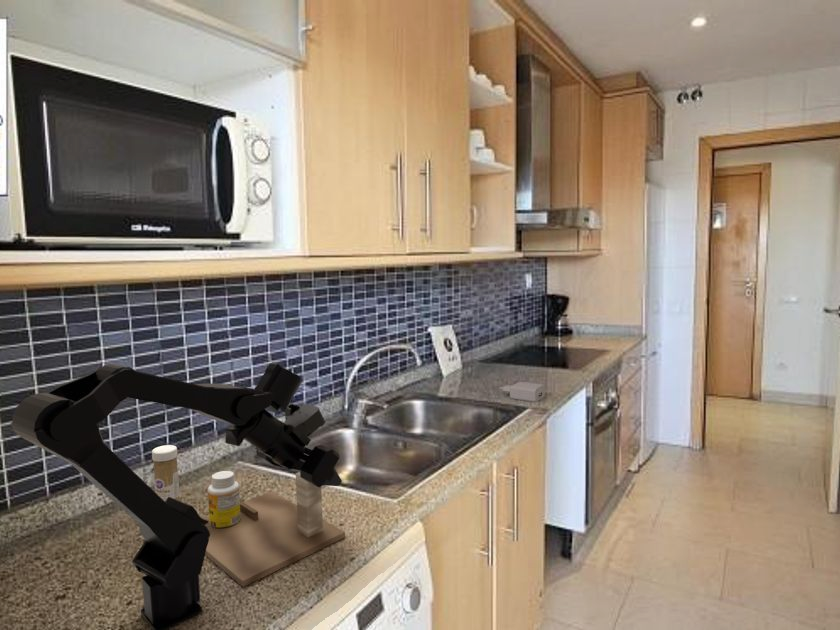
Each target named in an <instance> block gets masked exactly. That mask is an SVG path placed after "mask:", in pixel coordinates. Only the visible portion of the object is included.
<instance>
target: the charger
mask: <svg viewBox="0 0 840 630" xmlns="http://www.w3.org/2000/svg"><path fill="white" fill-rule="evenodd" d="M498 389H500V390H502V392H503V393H506V394H509V397H510V398H511V400H517V401H525V402H533V403H537V402H538V401H540V400H542V399H543V398H544V397H545V395H546V393H545V391H546V386H545V384H543V383H535V382H534V383H533V382H527V381H526V382H525V381H518V382H516V383H514V384H512V385H509V384H507V385H504V386H500V387H498Z"/></svg>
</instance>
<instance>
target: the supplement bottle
mask: <svg viewBox="0 0 840 630" xmlns="http://www.w3.org/2000/svg"><path fill="white" fill-rule="evenodd" d="M240 497H241V496H240V485H239V483H238V481H236V480H235V473H234V472H233V471H231V470H223V471H218V472H214V473H213V474H212V475H211V484H210V485H209V486H208V487H207V501H208V503H207V504H208V515H209V520H210V526H211V527H213V528H216V529H224V528H229V527H232V526H234V525H236V524H237V523H239V522H240V520H241V517H240V500H241V499H240Z"/></svg>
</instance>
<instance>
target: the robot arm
mask: <svg viewBox="0 0 840 630" xmlns="http://www.w3.org/2000/svg"><path fill="white" fill-rule="evenodd" d="M302 383H303V380H302V378H301V377H300V376H299V375H298V374H297V373H294V372H292V371H291V370H288V368H284V367H283V366H281V365H280V364H279V363H274V362H273V363H272V362H270V363H269V364H268V365H267V367H266V368H265V371H264V373H263V374H262V376H261V378H260V379H259V381H258V383H257V384H256V386H255V387H254V388H250V387H246V386H245V387H242V386H241V387H240V386H236V385H231V384H224V383H190V382H187V381H181V380H177V379H173V378H169V377H164V376H160V375H157V374H151V373H148V372H142V371H138V370H136V369H134V368H132V367H130V366H124V365H119V364H115V363H113V364H112V363H108V364H105V365H102V366H101V367H99V368H97V369H95V370H93V371H92V372H90V373H88V374H87V375H83V376H81V377H78V378H76V379H73V380H71V381H68V382H66V383H63V384H60V385H58V386H56V387H54V388H53V389H51V390H49V391H47V392H42V393H41V392H40V393H35V394H33V395H30V396H28V397H26V398H24V399H23V400H21V401H20V403H19V404H18V405H17V406H16V407H15V409H14V412H13V413H12V419H11V423H10V425H11V428H12V430H13V431H14V432H15V433H16V435H17V436H19V437H20V438H21V439H24V440H25V441H28V442H30V443H32V444H33V445H35V446H37V447H39V448H40V449H42V450H43V451H45V452H48V453H50V454H52V455H53V456H55V457H57V458H60V459H62V460H63V461H66V462H67V463H69V464H70V465H71V466H72V467H74V468H75V469H76V470H77V471H78V472H79V473H80V474H81V475H83V477H85V478H86V479H87V480H89V481H90V482H91V484H93V485H94V486H95V487H96V488H98V489H99V490H100V492H102V493H103V494H104V495H105V496H107V497H108V498H109V499H110V500H111V501H112V502H114V504H116V505H117V506H118V507H119V508H120V509H121V510H123V512H125V513H126V514H127V515H128V516H129V517H130V518H132V519H133V520H134V521H135V522H136V523H137V525H138V528H139V531H140V534H141V536H142V538H143V539H144V540H145V541H144V542H143V543H142V545H141V547H140V548H139V550H138V551H137V553H136V555H135V556H134V558H133V559H132V561H131V562H132V564H133V566H134V568H135V569H136V571H137V572H138V573H141V574H143V575H144V576H142V579H141V582H142V595H143V604H144V607H143V608H141V609H140V615H141V616H142V617H143V620H145V621H146V622H147V624H148V625H149V626H150V628H151V629H153V630H169V629H170V628H172V627H174V626H176V625H178V624H180V623H183V622H184V621H187V620H188V619H191V618H192V617H194V616H196V615H199V614H200V613H202V612H203V606H202V605H200V603H199V602H200V601H201V591H200V575H201V573H202V569H203V564H204V560H205V557H206V555H205V552H206V548H207V545H208V542H209V537H210V531H209V529H208V528H207V526H205V524H207V523H208V522H209V521H207V520H205V519H203V518H201V517H202V516H200V515H199V513H198V512H197V510H196V509H195V507H194V506H192V505H190V504H187V503H186V502H183V501H178V500H176V499H173V498H171V497H168V498H167V500H166V501H164V500H163V499H162V498H161V497H159V496H158V495H157V494H156V493H155V490H153V489H152V488H151V487H150V486H149V485H148V484H147V483H146V482H145V481H144V480H143V479H142V478H141V477H140V476H139V475H138V474H137V473H135V472H134V470H132V469H131V468H130V467H129V465H127V464H126V463H125V462H124V461H123V460H122V459H121V458H120V457H119V456H118V455H116V453H114V452H113V451H112V449H110V447H108V446H107V445H106V443H105V441H104V439H103V436H102V433H101V429H100V428H99V425H98V424H99V423H101V422H103V420H105V419H106V418H107V417H108V416H109V415H110V414H111V413H112V412H113V411H114V410H115V409H116V408H117V407H118V406H119V404H121V402H123V401H125V400H127V398H129V399H133V400H139V401H143V402H144V401H145V402H151V403H156V404H161V405H167V406H170V407H171V406H173V407H177V408H183V409H189V410H191V411H193V412H194V413H196V414H199V415H201V416H203V417H206V418H208V419H211V420H214V421H217V422H221V423H226V424H229V425H231V426H229V427H226V428H224V429H225V439H224V441H225V444H227V445H231V446H235V447H240V446H241V445H242V443H244V441H246V442H247V443H249V444H250V445H252V446H253V447H254V449H255V450H256V452H255V453H256V456H257V457H258V458H260V459H261V460H262V461H264V462H266V463H269V464H271V465H273V466H275V467H278V468H283V469H288V470H295V471H299V472H300V477H301V478H303V479H304V480H305V481H307V482H309V483H311V484H313V485H315V486H317V487H321V488H322V487H324V486H325V487H330V486H331V487H339V486H340V485H341V484H342V481H343V480H342V479H341V477H340V475H339V474H338V472H337V470H336V467H335V466H336V464H337V463H338V462H339V460H340V454H339V453H338V452H337V451H335V450H334V449H332V448H331V447H328V446H325V445H323V444H319V445H316V446H314V447H313V449H311V448H308V447H307V446H309V444H310V442H311V441H312V439H311V438H310V436H311V435H312V434H313V433H314V432H316V431H317V430H318V429H319V428H320V427H323V426H324V425H325V424H326V420H325V418H324V416H323V414H322V412H321V410H320V408H319V407H318V406H315V405H312V404H309V403H304V404H303V403H300V405H297V404H295V403H293V402H291V401H292V400H293V398H294V396H295V395H296V393H297V391H298V390H299V388H300V386H301V384H302ZM279 411H282V412H284V418H285V421H284V422H283V421H281V420H280V419H278V418H277V417H275V416H274V415H273V414H271V413H270V412H272V413H274V414H275V413H276V414H277V413H278V412H279Z"/></svg>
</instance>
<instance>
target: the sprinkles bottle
mask: <svg viewBox="0 0 840 630" xmlns="http://www.w3.org/2000/svg"><path fill="white" fill-rule="evenodd" d="M151 459H152V461H153V462H152V463H153V473H154V492H155V493H156V494H157V495H158V496H159V497H161V498H162V499H163V500H164V501H166V500H167V498H168V497H171V498H173V499H176V500H178V501H180V482H179V470H178V447H177V446H176V445H173V444H165V445H161V446H157V447H155V448H153V449H152V450H151Z"/></svg>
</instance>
